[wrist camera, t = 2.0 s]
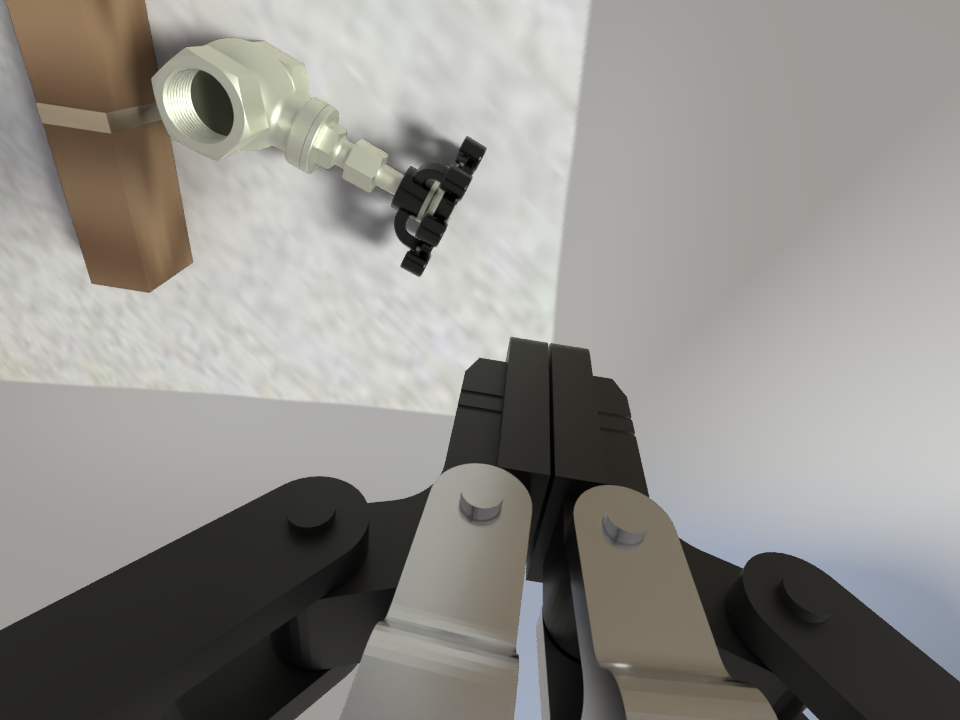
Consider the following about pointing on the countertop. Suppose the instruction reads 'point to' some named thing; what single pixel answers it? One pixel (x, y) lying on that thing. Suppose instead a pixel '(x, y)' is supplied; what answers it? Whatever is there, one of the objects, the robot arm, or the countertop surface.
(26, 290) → the countertop surface
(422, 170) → the valve
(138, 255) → the bar
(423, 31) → the countertop surface
